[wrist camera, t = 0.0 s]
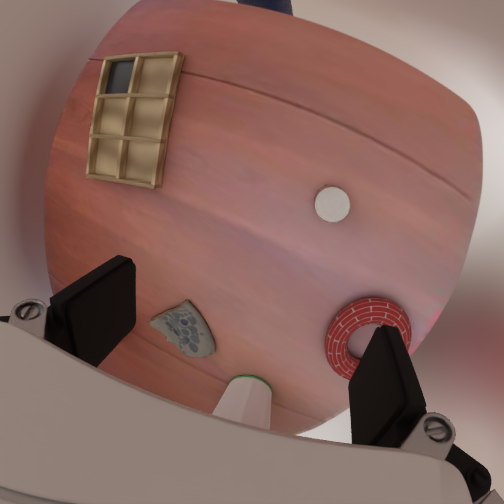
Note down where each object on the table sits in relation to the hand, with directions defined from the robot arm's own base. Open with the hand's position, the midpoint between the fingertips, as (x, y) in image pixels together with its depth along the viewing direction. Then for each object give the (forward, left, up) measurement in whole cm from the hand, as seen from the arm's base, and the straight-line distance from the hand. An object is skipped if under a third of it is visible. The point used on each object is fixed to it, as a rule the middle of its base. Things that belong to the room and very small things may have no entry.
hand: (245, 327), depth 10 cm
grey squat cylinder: (-1, +5, -30) cm, 31 cm away
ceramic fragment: (+26, -13, -30) cm, 42 cm away
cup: (+36, +1, -30) cm, 47 cm away
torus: (+18, +17, -30) cm, 39 cm away
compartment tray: (-8, -26, -30) cm, 41 cm away
